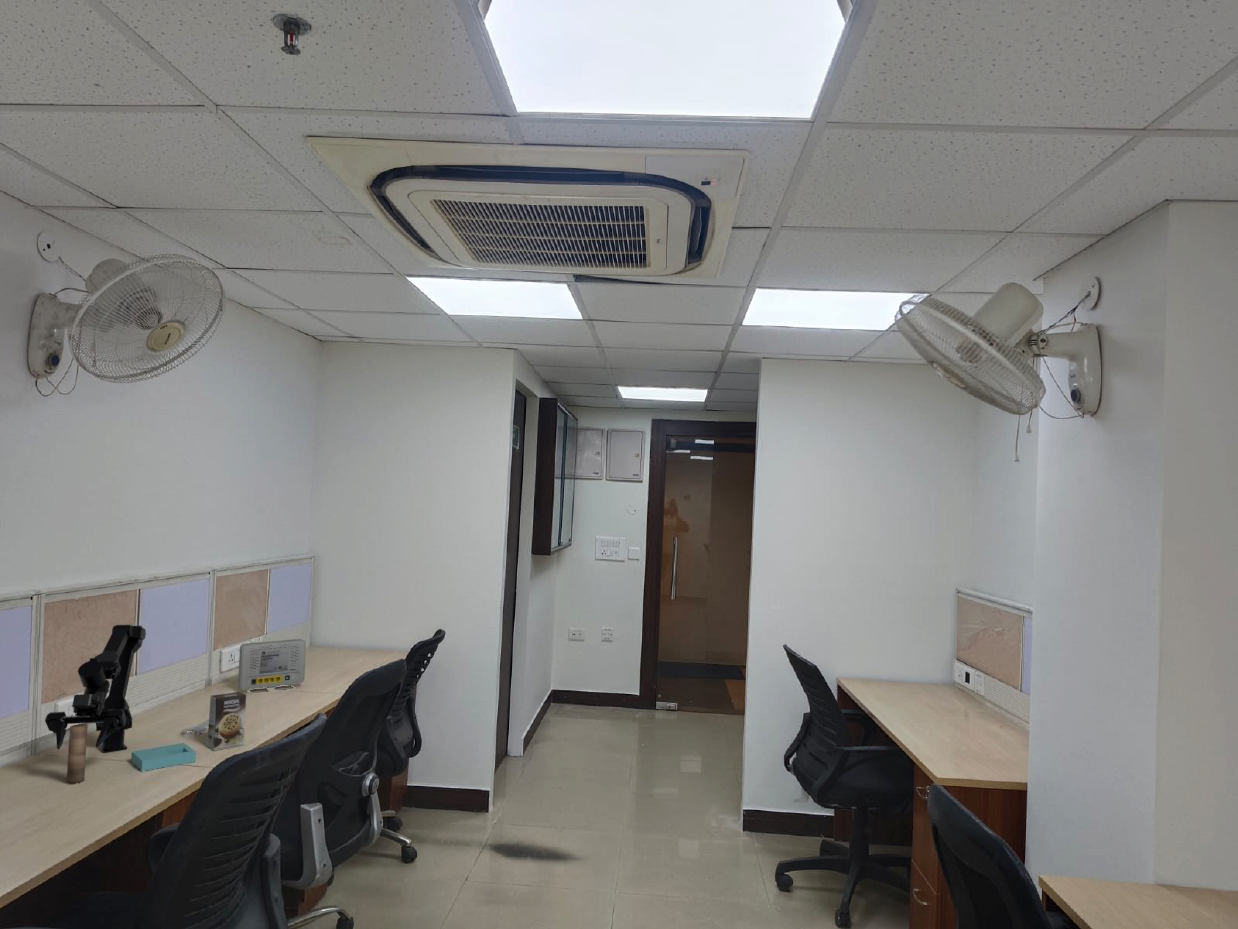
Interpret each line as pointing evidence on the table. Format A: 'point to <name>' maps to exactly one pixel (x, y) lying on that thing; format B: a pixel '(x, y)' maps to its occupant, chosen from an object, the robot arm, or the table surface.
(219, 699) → the brown cookie box
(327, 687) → the table surface
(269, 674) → the network device
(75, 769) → the peg
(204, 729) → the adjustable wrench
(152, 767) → the holder block
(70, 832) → the table surface
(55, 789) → the table surface
